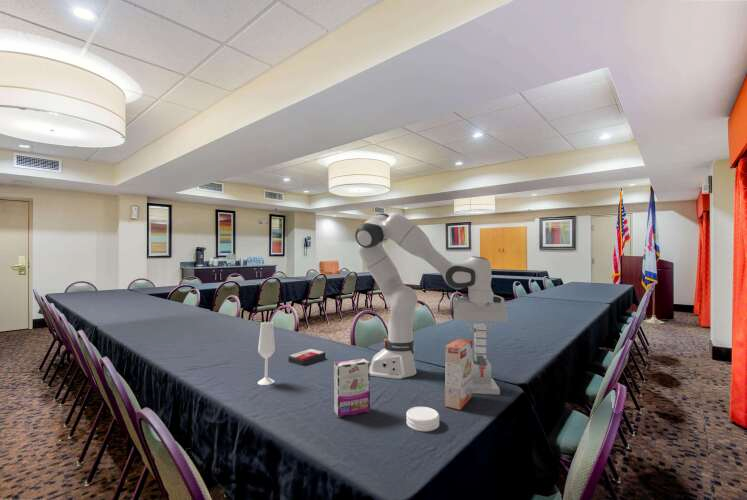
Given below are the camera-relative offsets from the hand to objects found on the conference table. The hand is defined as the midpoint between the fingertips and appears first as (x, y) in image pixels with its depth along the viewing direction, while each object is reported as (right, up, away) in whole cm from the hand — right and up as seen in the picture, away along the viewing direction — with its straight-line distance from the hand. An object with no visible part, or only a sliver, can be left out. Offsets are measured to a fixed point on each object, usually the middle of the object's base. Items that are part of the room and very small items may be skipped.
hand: (479, 332), depth 135 cm
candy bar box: (-49, -21, -23) cm, 58 cm away
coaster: (-27, -21, -31) cm, 46 cm away
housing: (0, -22, -1) cm, 22 cm away
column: (0, -17, -1) cm, 17 cm away
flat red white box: (-75, -23, +36) cm, 87 cm away
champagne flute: (-86, -22, +5) cm, 89 cm away
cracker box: (-12, -21, -14) cm, 28 cm away
